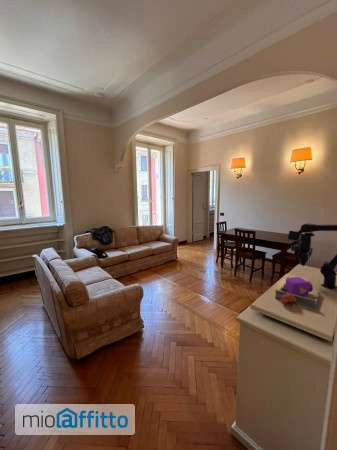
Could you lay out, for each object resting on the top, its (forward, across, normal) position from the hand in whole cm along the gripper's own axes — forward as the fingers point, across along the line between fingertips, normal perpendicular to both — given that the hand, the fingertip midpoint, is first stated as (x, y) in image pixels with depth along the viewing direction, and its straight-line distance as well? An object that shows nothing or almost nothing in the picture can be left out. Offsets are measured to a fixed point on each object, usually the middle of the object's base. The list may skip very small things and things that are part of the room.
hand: (304, 264), depth 140 cm
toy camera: (+12, +23, +2) cm, 26 cm away
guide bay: (+12, +28, +2) cm, 30 cm away
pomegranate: (+12, +41, 0) cm, 43 cm away
